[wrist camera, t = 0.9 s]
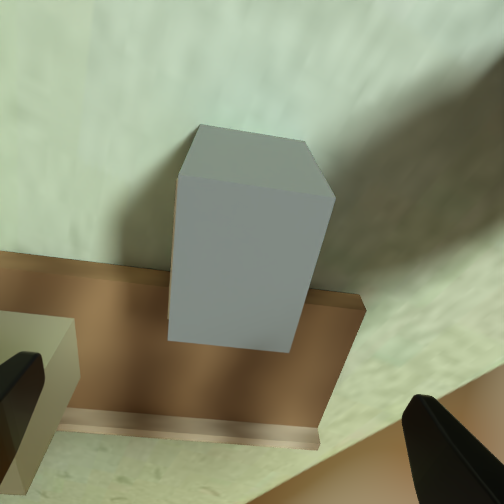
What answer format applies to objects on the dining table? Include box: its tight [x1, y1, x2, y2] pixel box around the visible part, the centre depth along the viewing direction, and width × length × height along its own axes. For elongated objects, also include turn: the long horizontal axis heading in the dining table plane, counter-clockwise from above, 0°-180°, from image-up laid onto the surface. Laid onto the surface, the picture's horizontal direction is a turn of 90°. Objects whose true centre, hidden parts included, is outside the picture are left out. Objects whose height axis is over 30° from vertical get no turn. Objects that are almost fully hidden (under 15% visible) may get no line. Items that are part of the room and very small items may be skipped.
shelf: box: [0, 251, 366, 450], centre depth 23 cm, size 24×12×3 cm, turn 81°
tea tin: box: [167, 124, 336, 353], centre depth 16 cm, size 5×7×7 cm
